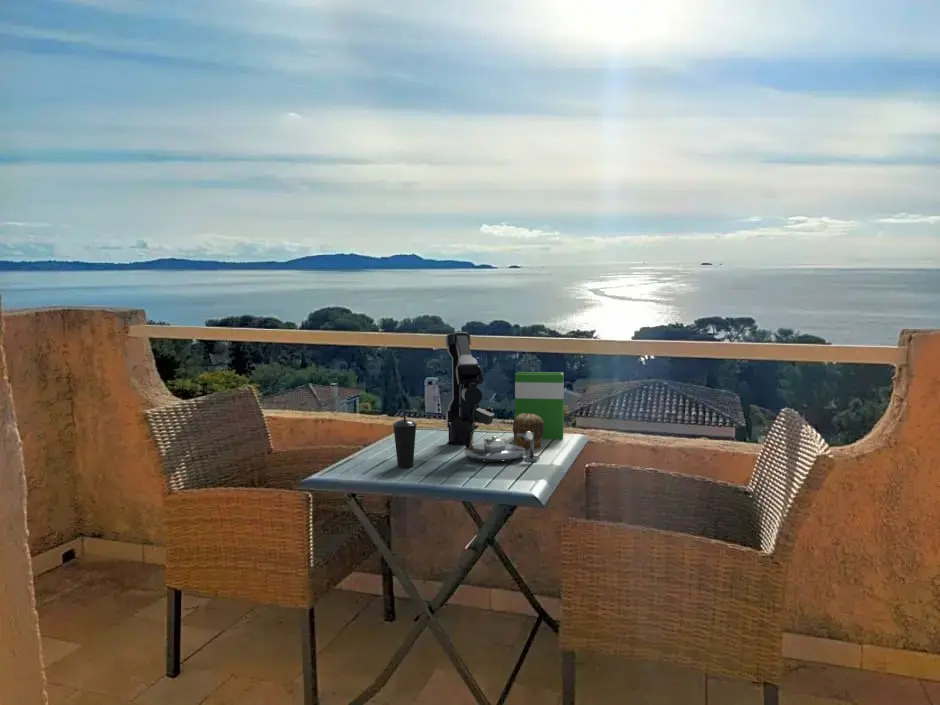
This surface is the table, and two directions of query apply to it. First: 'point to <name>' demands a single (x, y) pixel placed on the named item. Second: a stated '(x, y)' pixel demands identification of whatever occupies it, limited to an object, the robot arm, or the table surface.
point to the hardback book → (542, 399)
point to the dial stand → (530, 437)
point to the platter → (480, 453)
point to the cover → (494, 444)
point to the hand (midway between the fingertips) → (467, 447)
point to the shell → (528, 429)
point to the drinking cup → (405, 440)
